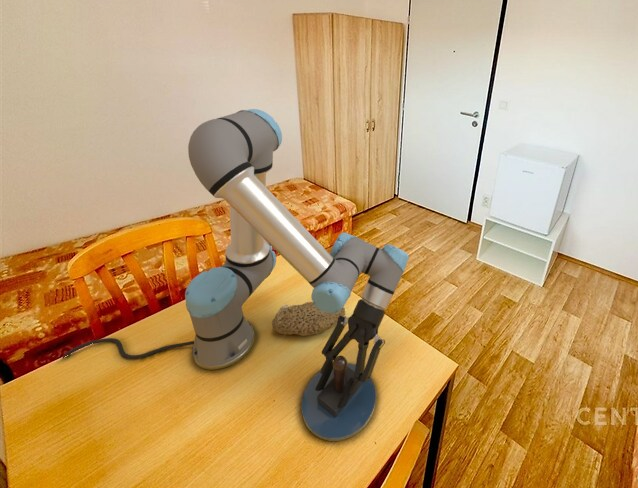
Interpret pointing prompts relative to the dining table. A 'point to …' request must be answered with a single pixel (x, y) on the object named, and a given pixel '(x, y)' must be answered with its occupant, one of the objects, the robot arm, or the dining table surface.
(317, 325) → the sponge
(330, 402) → the stamp
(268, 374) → the dining table surface
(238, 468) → the dining table surface
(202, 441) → the dining table surface
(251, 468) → the dining table surface
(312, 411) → the plate
